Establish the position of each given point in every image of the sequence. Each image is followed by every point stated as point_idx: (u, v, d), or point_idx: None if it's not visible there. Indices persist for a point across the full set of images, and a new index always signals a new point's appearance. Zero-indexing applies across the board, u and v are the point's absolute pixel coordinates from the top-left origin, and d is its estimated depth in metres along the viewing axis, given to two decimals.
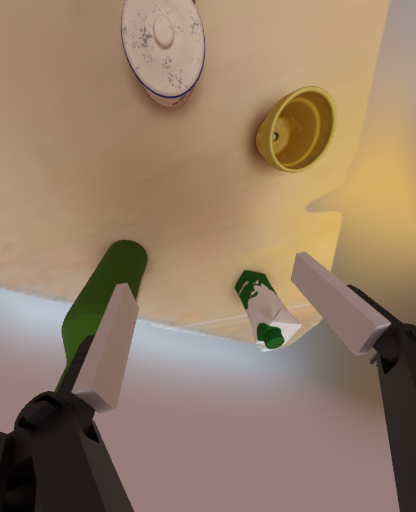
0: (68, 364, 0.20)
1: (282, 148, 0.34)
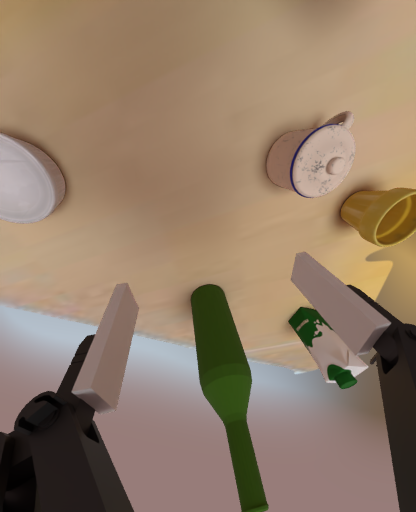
0: (231, 423, 0.24)
1: None
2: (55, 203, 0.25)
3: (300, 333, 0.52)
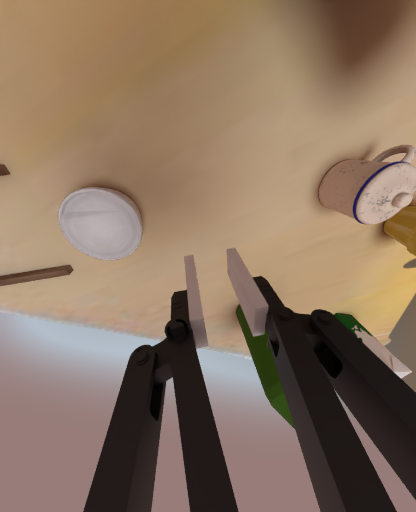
0: None
1: None
2: None
3: None
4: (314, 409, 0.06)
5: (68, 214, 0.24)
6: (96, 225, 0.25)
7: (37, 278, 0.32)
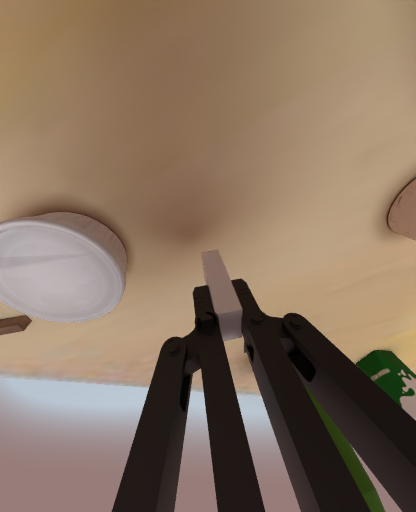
0: None
1: None
2: (122, 295, 0.18)
3: (378, 384, 0.44)
4: (289, 415, 0.06)
5: None
6: (44, 278, 0.15)
7: None
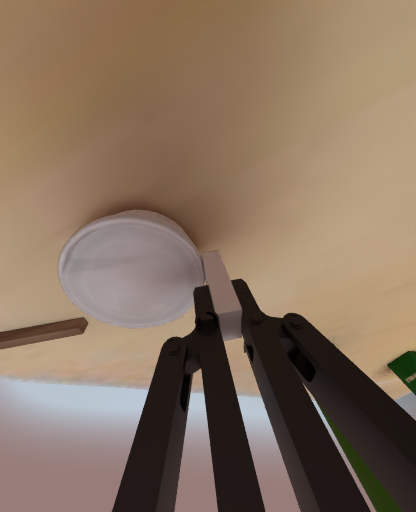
0: None
1: None
2: None
3: (414, 386, 0.43)
4: (289, 415, 0.06)
5: (77, 264, 0.13)
6: (127, 281, 0.14)
7: (33, 341, 0.21)
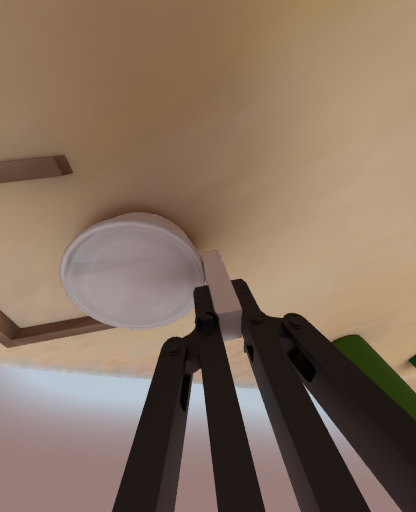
0: None
1: None
2: None
3: None
4: (289, 415, 0.06)
5: (79, 267, 0.13)
6: (128, 283, 0.14)
7: (90, 330, 0.21)
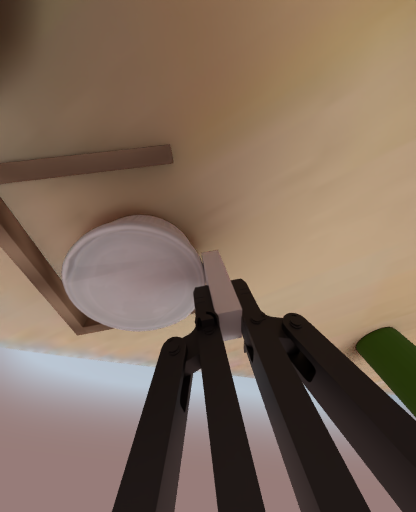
0: None
1: None
2: None
3: None
4: (289, 414, 0.06)
5: (80, 271, 0.13)
6: (129, 286, 0.14)
7: None
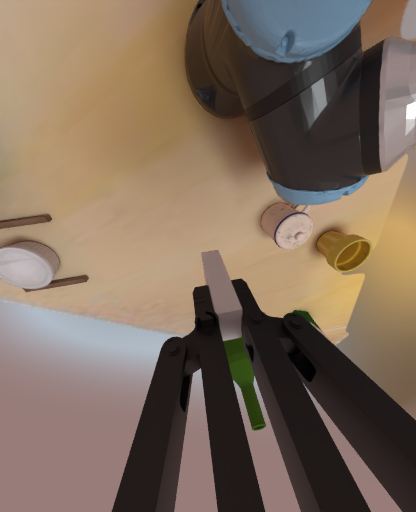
0: (244, 386, 0.41)
1: None
2: (53, 275, 0.41)
3: None
4: (289, 415, 0.06)
5: None
6: (17, 268, 0.38)
7: (64, 284, 0.46)
